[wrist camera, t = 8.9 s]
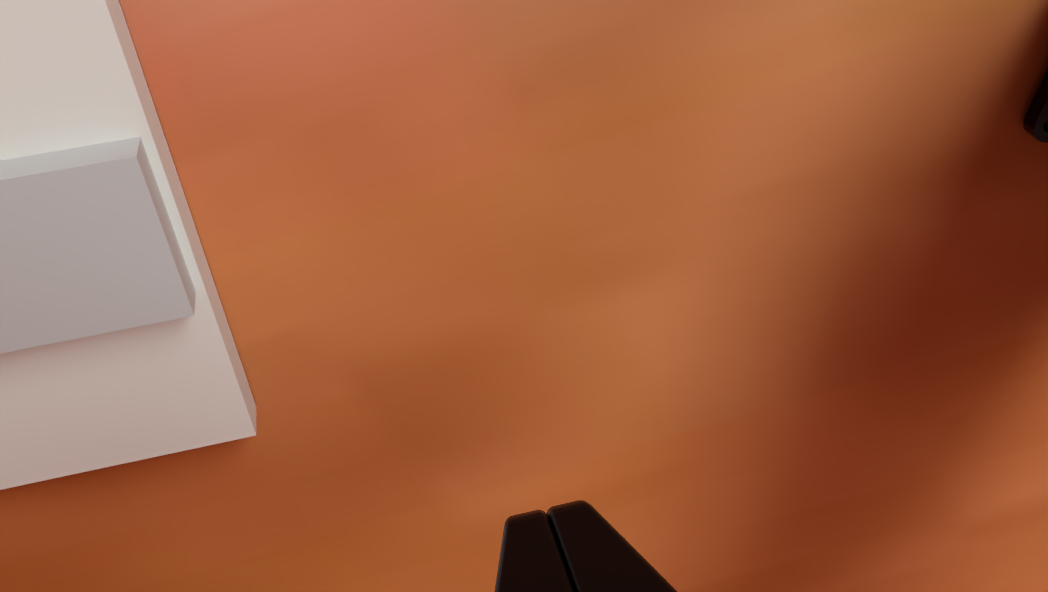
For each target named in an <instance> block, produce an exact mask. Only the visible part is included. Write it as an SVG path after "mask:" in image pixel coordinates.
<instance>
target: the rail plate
mask: <svg viewBox="0 0 1048 592" xmlns="http://www.w3.org/2000/svg"><path fill="white" fill-rule="evenodd" d="M251 436H256V405H255V402H254V399H253V396H252V393H251V390H250V387H249V384H248V381H247V378H246V375H245V372H244V369H243V366H242V363H241V360H240V358H239V355H238V352H237V349H236V346H235V343H234V340H233V337H232V334H231V331H230V328H229V325H228V322H227V319H226V316H225V313H224V310H223V307H222V304H221V302H220V299H219V296H218V293H217V290H216V287H215V284H214V281H213V278H212V275H211V272H210V269H209V266H208V263H207V260H206V257H205V254H204V251H203V249H202V246H201V243H200V240H199V237H198V234H197V231H196V228H195V225H194V222H193V219H192V216H191V213H190V210H189V207H188V204H187V201H186V198H185V195H184V193H183V190H182V187H181V184H180V181H179V178H178V175H177V172H176V169H175V166H174V163H173V160H172V157H171V154H170V151H169V148H168V145H167V142H166V140H165V137H164V134H163V131H162V128H161V125H160V122H159V119H158V116H157V113H156V110H155V107H154V104H153V101H152V98H151V95H150V92H149V89H148V86H147V84H146V81H145V78H144V75H143V72H142V69H141V66H140V63H139V60H138V57H137V54H136V51H135V48H134V45H133V42H132V39H131V36H130V33H129V30H128V28H127V25H126V22H125V19H124V16H123V13H122V10H121V7H120V4H119V1H118V0H0V490H2V489H7V488H11V487H16V486H21V485H25V484H30V483H35V482H40V481H44V480H49V479H54V478H58V477H63V476H68V475H73V474H77V473H82V472H87V471H91V470H96V469H101V468H105V467H110V466H115V465H120V464H124V463H129V462H134V461H138V460H143V459H148V458H153V457H157V456H162V455H167V454H171V453H176V452H181V451H185V450H190V449H195V448H200V447H204V446H209V445H214V444H218V443H223V442H228V441H233V440H237V439H242V438H247V437H251Z"/></svg>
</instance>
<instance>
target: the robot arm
mask: <svg viewBox="0 0 1048 592" xmlns="http://www.w3.org/2000/svg"><path fill="white" fill-rule="evenodd" d="M1047 118H1048V70H1047V72H1046V74H1045V76H1044V78H1043V80H1042V82H1041V84H1040V86H1039V88H1038V90H1037V92H1036V94H1035V96H1034V98H1033V100H1032V102H1031V104H1030V106H1029V108H1028V110H1027V113H1026V115H1025V118H1024V121H1023V124H1024V129H1025V130H1026V132H1027V133H1028V134H1030V135H1031V136H1032V137H1034V138H1035V139H1037V140H1038V141H1041V142H1046V143H1048V122H1046V123H1045V121H1046V120H1047ZM1044 123H1045V124H1044ZM495 592H677V591H676V590H675V589H674V588H673V587H672V586H671V585H670V584H669V583H668V582H667V581H666V580H665V579H664V578H663V577H662V576H661V575H660V574H659V573H658V572H657V571H656V570H655V569H654V568H653V567H652V566H651V565H650V564H649V563H648V562H647V561H646V560H645V559H644V558H643V557H642V556H641V555H640V554H639V553H638V552H637V551H636V550H635V549H634V548H633V547H632V546H631V545H630V544H629V543H628V542H627V541H626V540H625V539H624V538H623V537H622V536H621V535H620V534H619V533H618V532H617V531H616V530H615V529H614V528H613V527H612V526H611V525H610V524H609V523H608V522H607V521H606V520H605V519H604V518H603V517H602V516H601V515H600V514H599V513H598V512H597V511H596V510H595V509H594V508H593V507H592V506H591V505H590V504H589V503H587V502H585V501H582V500H579V501H574V502H570V503H566V504H561V505H557V506H553V507H551V508H549V510H548V511H547V514H546V513H545V512H544V511H542V510H535V511H531V512H527V513H522V514H518V515H514V516H510V517H509V518H508V519H507V520H506V522H505V525H504V532H503V539H502V545H501V552H500V559H499V566H498V573H497V580H496V586H495Z"/></svg>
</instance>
